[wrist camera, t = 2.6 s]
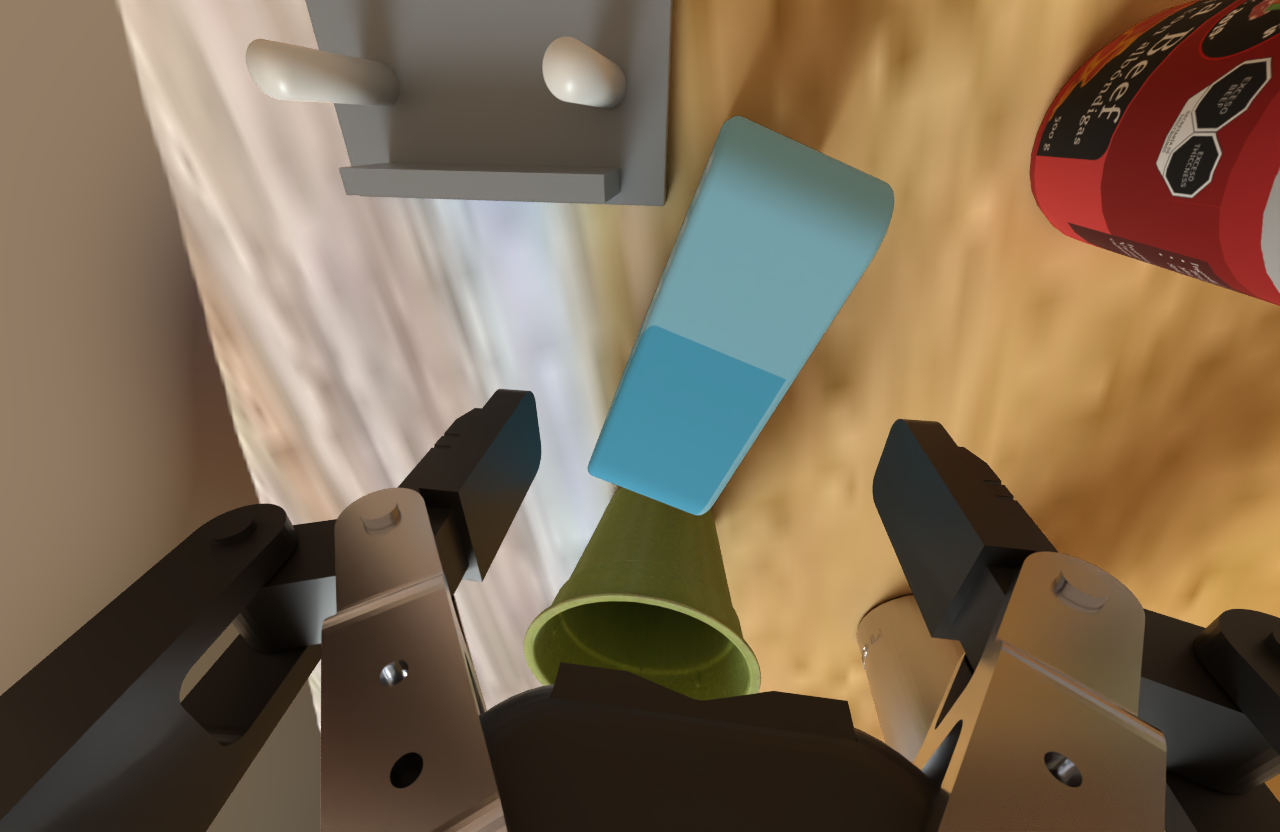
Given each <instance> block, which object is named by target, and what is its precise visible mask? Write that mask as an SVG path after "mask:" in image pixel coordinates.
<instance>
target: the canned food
mask: <svg viewBox="0 0 1280 832" xmlns="http://www.w3.org/2000/svg"><path fill="white" fill-rule="evenodd" d="M1030 180H1031V188H1032V192H1033V195H1034V198H1035V200H1036V203H1037V205H1038V207H1039V208H1040V209H1041V211H1042V212H1043V214H1044V215H1045V216H1046V218H1047V219H1048V220H1049V222H1050V223H1051V224H1052V225H1053V226H1054V227H1055V228H1057V229H1058V230H1059V231H1061V232H1062V233H1063V234H1065V235H1066V236H1069V237H1071V238H1074V239H1076V240H1079V241H1081V242H1085V243H1088V244H1091V245H1094V246H1097V247H1100V248H1103V249H1106V250H1109V251H1112V252H1116V253H1119V254H1122V255H1125V256H1128V257H1131V258H1134V259H1137V260H1140V261H1143V262H1146V263H1150V264H1153V265H1156V266H1159V267H1162V268H1165V269H1168V270H1171V271H1174V272H1177V273H1180V274H1184V275H1187V276H1190V277H1193V278H1196V279H1199V280H1202V281H1205V282H1208V283H1211V284H1214V285H1218V286H1221V287H1224V288H1227V289H1230V290H1233V291H1236V292H1239V293H1242V294H1245V295H1248V296H1252V297H1255V298H1258V299H1261V300H1264V301H1267V302H1270V303H1273V304H1276V305H1279V306H1280V0H1195V1H1191V2H1188V3H1185V4H1182V5H1179V6H1176V7H1173V8H1170V9H1167V10H1163V11H1161V12H1160V13H1158V14H1156V15H1154V16H1152V17H1150V18H1148V19H1146V20H1144V21H1142V22H1140V23H1138V24H1136V25H1135V26H1133V27H1132V28H1130V29H1129V30H1128V31H1126V32H1125V33H1123V34H1122V35H1121V36H1119V37H1118V38H1116V39H1115V40H1113V41H1112V42H1111V43H1109V44H1108V45H1106V46H1105V47H1104V48H1102V49H1101V50H1099V51H1098V52H1097V53H1096V54H1095V55H1094V56H1093V57H1091V58H1090V59H1089V60H1088V61H1087V62H1086V63H1085V64H1084V65H1083V66H1082V67H1081V68H1079V69H1078V70H1077V72H1076V73H1075V74H1074V75H1073V76H1072V78H1071V79H1070V80H1069V81H1068V82H1067V84H1066V85H1065V86H1064V87H1063V88H1062V89H1061V91H1060V92H1059V94H1058V95H1057V97H1056V99H1055V100H1054V102H1053V103H1052V105H1051V106H1050V108H1049V110H1048V111H1047V113H1046V115H1045V117H1044V119H1043V122H1042V124H1041V126H1040V128H1039V130H1038V133H1037V136H1036V139H1035V143H1034V147H1033V150H1032V154H1031V164H1030Z"/></svg>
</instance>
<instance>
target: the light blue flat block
mask: <svg viewBox="0 0 1280 832" xmlns="http://www.w3.org/2000/svg"><path fill="white" fill-rule="evenodd" d="M893 208H894V194H893V190H892V188H891V187H890V185H889V184H887V183H886V182H884V181H882V180H880V179H877V178H875V177H873V176H871V175H869V174H866V173H864V172H862V171H860V170H858V169H856V168H853V167H851V166H849V165H847V164H845V163H842V162H840V161H838V160H836V159H834V158H831V157H829V156H827V155H825V154H823V153H821V152H818V151H816V150H814V149H812V148H810V147H807V146H805V145H803V144H801V143H799V142H796V141H794V140H792V139H790V138H788V137H786V136H783V135H781V134H779V133H777V132H775V131H772V130H770V129H768V128H766V127H764V126H761V125H759V124H757V123H755V122H753V121H751V120H748V119H746V118H744V117H742V116H734V117H732V118H731V119H729V120H727V121H726V122H725V123H724V124H723V126H722V128H721V130H720V133H719V135H718V138H717V140H716V142H715V145H714V147H713V150H712V152H711V155H710V157H709V160H708V162H707V165H706V167H705V170H704V172H703V175H702V177H701V180H700V182H699V185H698V187H697V190H696V192H695V195H694V197H693V200H692V202H691V205H690V207H689V210H688V212H687V214H686V217H685V219H684V222H683V224H682V227H681V229H680V232H679V234H678V237H677V239H676V242H675V244H674V247H673V249H672V252H671V254H670V257H669V259H668V262H667V264H666V267H665V269H664V272H663V274H662V277H661V279H660V282H659V284H658V287H657V289H656V292H655V294H654V297H653V299H652V302H651V304H650V307H649V309H648V311H647V314H646V316H645V319H644V321H643V324H642V326H641V329H640V331H639V334H638V336H637V339H636V341H635V344H634V346H633V349H632V352H631V354H630V357H629V359H628V362H627V364H626V367H625V370H624V372H623V375H622V378H621V380H620V383H619V386H618V388H617V391H616V393H615V396H614V399H613V401H612V404H611V407H610V409H609V412H608V414H607V417H606V420H605V422H604V425H603V428H602V430H601V433H600V436H599V438H598V441H597V443H596V446H595V449H594V451H593V454H592V457H591V459H590V462H589V465H588V472H589V473H590V474H591V475H592V476H595V477H597V478H600V479H602V480H605V481H608V482H610V483H613V484H615V485H618V486H621V487H623V488H626V489H628V490H631V491H634V492H636V493H639V494H641V495H644V496H647V497H649V498H652V499H655V500H657V501H660V502H662V503H665V504H668V505H670V506H673V507H675V508H678V509H681V510H683V511H686V512H688V513H691V514H694V515H702V514H704V513H706V512H707V511H708V510H709V509H710V508H711V507H712V506H713V504H714V503H715V502H716V500H717V499H718V497H719V495H720V494H721V492H722V491H723V489H724V488H725V486H726V485H727V483H728V482H729V480H730V478H731V477H732V475H733V474H734V472H735V471H736V469H737V468H738V466H739V465H740V463H741V462H742V460H743V458H744V457H745V455H746V454H747V452H748V451H749V449H750V448H751V446H752V445H753V443H754V441H755V440H756V438H757V437H758V435H759V434H760V432H761V431H762V429H763V428H764V426H765V424H766V423H767V421H768V420H769V418H770V417H771V415H772V414H773V412H774V411H775V409H776V407H777V406H778V404H779V403H780V401H781V400H782V398H783V397H784V395H785V394H786V392H787V390H788V389H789V387H790V386H791V384H792V383H793V381H794V380H795V378H796V377H797V375H798V373H799V372H800V370H801V369H802V367H803V366H804V364H805V363H806V361H807V360H808V358H809V356H810V355H811V353H812V352H813V350H814V349H815V347H816V346H817V344H818V343H819V341H820V339H821V338H822V336H823V335H824V333H825V332H826V330H827V329H828V327H829V326H830V324H831V323H832V321H833V319H834V318H835V316H836V315H837V313H838V312H839V310H840V309H841V307H842V306H843V304H844V302H845V301H846V299H847V298H848V296H849V295H850V293H851V292H852V290H853V289H854V287H855V285H856V284H857V282H858V281H859V279H860V278H861V276H862V275H863V273H864V272H865V270H866V268H867V267H868V265H869V264H870V262H871V261H872V259H873V257H874V256H875V254H876V252H877V250H878V248H879V246H880V244H881V243H882V241H883V238H884V236H885V234H886V231H887V229H888V226H889V223H890V220H891V217H892V213H893Z"/></svg>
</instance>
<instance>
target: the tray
mask: <svg viewBox="0 0 1280 832" xmlns="http://www.w3.org/2000/svg"><path fill="white" fill-rule="evenodd" d="M305 1H306V4H307V8H308V11H309V15H310V19H311V22H312V26H313V29H314V33H315V37H316V40H317V44H318V47H319V50H316V49H311V48H306V47H301V46H295V45H290V44H285V43H280V42H275V41H269V40H264V39H257V40H254V41H252V42H251V43H250V44H249V46H248V48H247V51H246V63H247V67H248V71H249V73H250V75H251V77H252V79H253V81H254V82H255V84H256V85H257V86H258V88H259V89H260V90H261V91H262V92H263V93H265V94H266V95H267V96H269V97H271V98H274V99H277V100H292V101H308V102H324V103H334V105H335V109H336V112H337V116H338V119H339V123H340V127H341V130H342V134H343V137H344V141H345V145H346V148H347V152H348V155H349V159H350V163H351V166H352V167H342V168H339V171H340V174H341V178H342V181H343V185H344V188H345V192H346V195H360V196H371V197H401V198H432V199H463V200H494V201H524V202H555V203H586V204H616V205H647V206H664V205H665V203H666V179H667V152H668V125H669V98H670V71H671V44H672V17H673V0H305Z"/></svg>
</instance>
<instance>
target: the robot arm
mask: <svg viewBox="0 0 1280 832" xmlns="http://www.w3.org/2000/svg"><path fill="white" fill-rule="evenodd" d="M540 460H541V441H540V433H539V426H538V418H537V410H536V402H535V398H534V395H533V393H532V392H531V391H521V390H507V389H498V390H497V391H496V392H495V393H494V394H493V396H492V397H491V398H490V399H489V401H488V402H487V403H486V404H485V406H484V407H483V408H482V409H481V408H474V409H473V410H471V411H469V412H468V413H466V414H464V415H463V416H461V417H459V418H458V419H456V420H455V421H454V423H453V424H452V425H451V426H450V427H449V428H448V430H447V431H446V432H445V433H444V436H442V437H441V438H440V439H439V440H438V441H437V442H436V444H435V447H434V448H431V449H430V451H429V452H428V453H427V454H426V455H425V456H424V457H423V459H422V460H421V461H420V462H419V463H418V464H417V466H416V467H415V468H414V469H413V470H412V471H411V473H410V474H409V475H408V476H407V477H406V478H405V480H404V481H403V482H402V483H401V484H400V485H399V487H398V488H389V489H383V490H379V491H376V492H373V493H370V494H368V495H366V496H363V497H361V498H360V499H358V500H356V501H355V502H353V503H352V504H350V505H349V506H348V507H347V508H346V509H345V510H344V511H343V512H342V513H341V514H340V515H339V517H338V519H335V520H328V521H321V522H313V523H306V524H299V525H292V523H291V521H290V520H289V518H288V516H287V514H286V512H285V511H284V510H283V508H281V507H279V506H277V505H274V504H254V505H248V506H244V507H240V508H237V509H234V510H231V511H228V512H226V513H224V514H222V515H219V516H217V517H215V518H214V519H212V520H210V521H209V522H207V523H205V524H204V525H202V526H201V527H200V528H198V529H197V530H196V531H195V532H193V533H192V534H191V535H190V536H189V537H187V538H186V539H185V540H184V541H183V542H182V543H180V544H179V545H178V546H177V547H176V548H175V549H173V550H172V551H171V552H170V553H168V554H167V555H166V556H165V557H164V558H163V559H161V560H160V561H159V562H158V563H157V564H156V565H154V566H153V567H152V568H151V569H150V570H148V571H147V572H146V573H145V574H144V575H143V576H141V577H140V578H139V579H138V580H137V581H135V582H134V583H133V584H132V585H131V586H130V587H128V588H127V589H126V590H125V591H124V592H122V593H121V594H120V595H119V596H118V597H117V598H115V599H114V600H113V601H112V602H111V603H109V604H108V605H107V606H106V607H105V608H104V609H102V610H101V611H100V612H99V613H98V614H97V615H96V616H94V617H93V618H92V619H91V620H89V621H88V622H87V623H86V624H85V625H84V626H82V627H81V628H80V629H79V630H78V631H77V632H75V633H74V634H73V635H72V636H71V637H69V638H68V639H67V640H66V641H65V642H63V643H62V644H61V645H60V646H59V647H58V648H57V649H55V650H54V651H53V652H52V653H51V654H50V655H48V656H47V657H46V658H45V659H43V660H42V661H41V662H40V663H39V664H38V665H36V667H34V668H33V669H32V670H30V671H29V672H28V673H27V674H26V675H25V676H23V677H22V678H21V679H20V680H19V681H18V682H16V683H15V684H14V685H13V686H12V687H11V688H9V689H8V690H7V691H6V692H4V693H3V694H2V695H1V696H0V832H206V831H207V829H208V828H209V826H210V825H211V823H212V821H213V820H214V819H215V817H216V816H217V814H218V812H219V811H220V809H221V808H222V807H223V805H224V804H225V802H226V800H227V799H228V798H229V796H230V794H231V793H232V792H233V790H234V789H235V787H236V785H237V784H238V782H239V781H240V779H241V778H242V776H243V775H244V773H245V772H246V770H247V769H248V767H249V766H250V764H251V763H252V761H253V760H254V758H255V757H256V755H257V754H258V752H259V751H260V749H261V748H262V746H263V745H264V743H265V742H266V740H267V739H268V737H269V736H270V734H271V733H272V731H273V730H274V728H275V727H276V725H277V724H278V722H279V721H280V719H281V718H282V716H283V715H284V713H285V712H286V710H287V709H288V707H289V706H290V704H291V703H292V701H293V700H294V698H295V697H296V695H297V694H298V692H299V691H300V689H301V688H302V686H303V685H304V683H305V682H306V680H307V679H308V677H309V676H310V674H311V673H312V671H313V670H314V668H315V667H316V665H317V664H318V662H319V661H320V659H321V832H1164V830H1165V832H1280V802H1279V801H1278V800H1277V799H1276V798H1275V796H1274V795H1273V793H1272V792H1271V791H1270V790H1269V788H1268V787H1267V786H1266V784H1265V783H1264V782H1266V781H1268V780H1269V779H1271V778H1273V777H1275V776H1276V775H1278V774H1280V618H1278V617H1275V616H1272V615H1269V614H1265V613H1262V612H1258V611H1253V610H1246V609H1231V610H1228V611H1225V612H1223V613H1222V614H1221V615H1220V616H1219V617H1218V618H1216V619H1215V620H1214V621H1213V622H1212V623H1211V624H1210V625H1209V626H1208V627H1207V628H1203V627H1200V626H1197V625H1194V624H1191V623H1188V622H1184V621H1181V620H1178V619H1175V618H1172V617H1169V616H1165V615H1162V614H1159V613H1156V612H1153V611H1150V610H1146V609H1143V607H1142V605H1141V604H1140V602H1139V601H1138V599H1137V598H1136V597H1135V596H1134V594H1133V593H1132V592H1131V591H1130V590H1129V589H1128V588H1127V587H1126V586H1125V585H1123V584H1122V583H1121V582H1120V581H1118V580H1117V579H1116V578H1114V577H1113V576H1112V575H1110V574H1109V573H1107V572H1105V571H1104V570H1102V569H1100V568H1098V567H1097V566H1095V565H1093V564H1090V563H1088V562H1086V561H1084V560H1081V559H1079V558H1076V557H1073V556H1070V555H1066V554H1062V553H1058V551H1057V550H1056V549H1055V548H1054V546H1053V545H1052V544H1051V543H1050V541H1049V540H1048V539H1047V538H1046V536H1045V535H1044V534H1043V533H1042V531H1041V530H1040V529H1039V528H1038V526H1037V525H1036V524H1035V523H1034V521H1033V520H1032V519H1031V518H1030V516H1029V515H1028V514H1027V513H1026V511H1025V510H1024V509H1023V508H1022V506H1021V505H1020V504H1019V503H1018V502H1017V501H1015V500H1013V495H1012V494H1011V493H1010V492H1009V490H1008V489H1007V488H1006V487H1005V485H1001V480H1000V479H999V478H998V477H997V475H996V474H995V473H994V472H993V470H992V469H991V468H990V467H989V465H988V464H987V463H986V462H984V461H983V460H981V459H980V458H979V457H977V456H976V455H974V454H973V453H971V452H970V451H969V450H967V449H966V448H964V447H958V446H957V445H956V443H955V442H954V441H953V439H952V438H951V437H950V435H949V434H948V433H947V431H946V430H945V429H944V427H943V426H942V425H941V424H940V423H939V422H934V421H921V420H907V419H898V420H896V421H895V422H894V424H893V425H892V427H891V430H890V433H889V436H888V438H887V441H886V444H885V447H884V450H883V452H882V455H881V458H880V461H879V464H878V467H877V469H876V472H875V475H874V479H873V499H874V503H875V506H876V508H877V510H878V513H879V515H880V517H881V520H882V522H883V524H884V527H885V529H886V532H887V534H888V536H889V539H890V541H891V543H892V546H893V548H894V550H895V553H896V555H897V557H898V560H899V562H900V565H901V567H902V569H903V572H904V574H905V576H906V579H907V581H908V583H909V586H910V588H911V590H912V593H913V595H910V596H905V597H901V598H897V599H893V600H891V601H889V602H886V603H884V604H881V605H880V606H878V607H877V608H875V609H873V610H872V611H870V612H869V613H868V614H867V615H866V616H865V617H864V618H863V620H862V621H861V623H860V624H859V626H858V630H857V640H858V645H859V648H860V652H861V655H862V661H863V665H864V669H865V670H866V674H867V677H868V681H869V685H870V688H871V693H872V696H873V700H874V704H875V707H876V711H877V715H878V718H879V722H880V725H881V729H882V733H883V736H884V740H885V743H883V742H882V741H880V740H878V739H876V738H875V737H873V736H871V735H869V734H867V733H865V732H863V731H861V730H859V729H856V728H854V727H853V722H852V718H851V714H850V709H849V705H848V701H843V700H836V699H829V698H821V697H814V696H806V695H799V694H792V693H784V692H777V691H770V692H763V693H756V694H748V695H741V696H734V697H726V698H719V699H712V700H696V699H693V698H690V697H688V696H685V695H683V694H681V693H678V692H676V691H673V690H671V689H669V688H666V687H664V686H662V685H659V684H657V683H654V682H652V681H650V680H647V679H645V678H642V677H640V676H638V675H635V674H633V673H631V672H628V671H622V670H615V669H607V668H600V667H593V666H585V665H578V664H570V663H563V662H560V666H559V669H558V673H557V676H556V680H555V684H553V685H546V686H542V687H538V688H535V689H531V690H527V691H525V692H522V693H520V694H517V695H515V696H513V697H510V698H508V699H507V700H505V701H503V702H501V703H499V704H497V705H495V706H494V707H492V708H491V709H489V710H488V711H487V709H486V706H485V702H484V699H483V696H482V692H481V689H480V686H479V682H478V679H477V675H476V671H475V668H474V664H473V661H472V657H471V653H470V650H469V646H468V642H467V639H466V635H465V631H464V628H463V624H462V621H461V617H460V613H459V610H458V606H457V602H456V599H455V596H454V593H455V591H456V589H457V587H458V585H459V583H460V582H461V580H469V581H477V582H482V581H483V579H484V577H485V575H486V573H487V571H488V569H489V567H490V565H491V563H492V561H493V559H494V557H495V555H496V553H497V551H498V549H499V547H500V545H501V543H502V541H503V539H504V537H505V535H506V533H507V531H508V529H509V527H510V525H511V523H512V521H513V519H514V517H515V515H516V513H517V511H518V509H519V507H520V505H521V503H522V501H523V499H524V497H525V495H526V493H527V491H528V489H529V487H530V485H531V483H532V481H533V479H534V477H535V475H536V473H537V471H538V469H539V465H540ZM231 622H232V623H233V624H234V626H235V627H236V629H237V630H238V631H239V633H240V634H239V635H238V636H237V638H236V639H235V640H234V641H233V642H232V644H231V645H230V646H229V647H228V648H227V649H226V651H225V652H224V653H223V654H222V655H221V656H220V658H219V659H218V660H217V661H216V662H215V663H214V665H213V666H212V667H211V668H210V669H209V671H208V672H207V673H206V674H205V675H204V676H203V677H202V679H201V680H200V681H199V682H198V683H197V685H196V686H195V687H194V688H193V689H192V690H191V691H190V693H189V694H188V695H187V696H186V697H185V698H184V700H183V701H182V702H181V703H180V699H179V694H180V688H181V685H182V682H183V680H184V678H185V676H186V674H187V673H188V671H189V670H190V669H191V667H192V666H193V665H194V664H195V663H196V662H197V660H198V659H199V658H200V657H201V656H202V655H203V654H204V653H205V651H206V650H207V649H208V648H209V647H210V646H211V645H212V644H213V643H214V641H215V640H216V639H217V638H218V637H219V636H220V635H221V634H222V632H223V631H224V630H225V629H226V628H227V627H228V626H229V624H230V623H231Z"/></svg>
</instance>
